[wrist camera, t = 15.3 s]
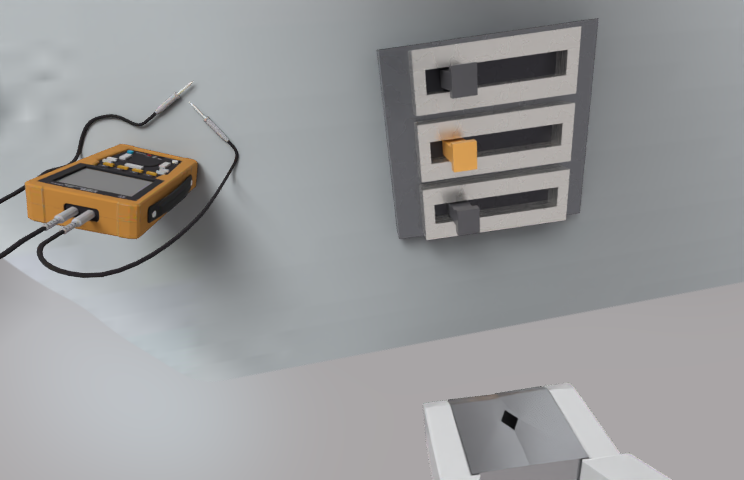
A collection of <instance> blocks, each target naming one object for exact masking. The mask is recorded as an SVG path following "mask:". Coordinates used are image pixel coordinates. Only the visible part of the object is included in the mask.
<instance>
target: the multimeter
mask: <svg viewBox="0 0 744 480" xmlns="http://www.w3.org/2000/svg"><path fill="white" fill-rule="evenodd" d="M192 82H193V81H192ZM192 82H190V83H189V84H187V85H186V86H185V87H184V88H183V89H182V90H180V91H179V92H178V93H177V92H174V94H173V95H172V96H171V97H169V98H168V99H167V100H166V101H165V102H164V103H162V104H161V105H160V106H159V107H158V108H157V109H156V110H155V112H154V113H153V114H152V115H151V116H150V117H149V118H148V119H146V120H145V121H144V122H142V123H139V124H138V123H134V122H132V121H130V120H128V119H126V118H124V117H121V116H118V115H113V114H109V115H102V116H98V117H95V118H93V119H91V120H90V121H89V122H88V123H87V124H86V125H85V127H84V129H83V131H82V134H81V137H80V141H79V145H78V150H77V153H76V156H75V158H74V159H73V160H72V161H71V162H70V163H68V164H67V165H64V166H61V167H56V168H52V169H49V170H46V171H44V172H43V173H41V174H40V175H39V176H37V177H36V178H34V179H31V180H29V181H27V182H25V185H24V186H22V187H21V188H19V189H18V190H16V191H14V192H13V193H11V194H9V195H7V196H5V197H3V198H2V199H0V204H1V203H3V202H4V201H6V200H8V199H10V198H12V197H13V196H15V195H17V194H19V193H20V192H22V191H23V190H26V199H27V211H28V218H30V219H32V220H34V221H37V222H42V223H46V224H44V225H42V226H41V228H39V229H37V230H36V231H34V232H32V233H30V234H29V235H27V236H25V237H23V238H22V239H20V240H19V241H17V242H16V243H15V244H13V245H12V246H10V247H9V248H8V249H6V250H5V251H3V252H2V253H0V259H1V258H3V257H5V256H6V255H8V254H9V253H11V252H12V251H13V250H15V249H16V248H17V247H19V246H20V245H22V244H23V243H24V242H26V241H28V240H29V239H31V238H33V237H34V236H36V235H38V234H39V233H41V232H43V231H47V230H48V229H50V228H52V227H53V226H55V225H60V226H65V227H63V228H61V229H60V231H59V232H58V233H56V234H54V235H53V236H51V237H50V238H48V239H46V240H45V241H43V242H42V243H40V244H39V246H38V248H37V256H38V258H39V260H40V261H41V263H42V264H43V265H44V266H46V267H47V268H49V269H50V270H52V271H55V272H57V273H60V274H64V275H68V276H74V277H82V278H90V277H104V276H108V275H112V274H116V273H120V272H123V271H125V270H128V269H130V268H132V267H135V266H137V265H139V264H141V263H143V262H145V261H146V260H148V259H150V258H152V257H154V256H155V255H157V254H158V253H160V252H161V251H163V250H164V249H166V248H167V247H168V246H170V245H171V244H172V243H174V242H175V241H176V240H177V239H179V238H180V237H181V236H182V235H183V234H184V233H186V232H187V231H188V230H189V229H190V228H191V227H192V226H193V225H194V224H195V223H196V222H197V221H198V220H199V219H200V218H201V217H202V216H203V214H204V213H205V212H206V211H207V209H208V208H209V207H210V205H211V204H212V202H213V201H214V199H215V198H216V196H217V195H218V193H219V192H220V190H221V188H222V187H223V185H224V183H225V182H226V180H227V178H228V177H229V175H230V173H231V171H232V170H233V168H234V166H235V164H236V162H237V159H238V152H237V149H236V148H235V146H234V145H233V144H232V143H231V142H230V141H229V139H228V138H227V136H226V135H225V134H224V133H223V132H222V131H221V130H220V129H219V128H218V127H217V126H216V125H215V124H214V123H213V122H212V121H211V120H210V119H209V117H207V118H206V117H205V116H204V115H203V114H202V113H201V112H200V111H199V110H198V109H197V108H196V107H195V106H194V105H193V104H192V103H190V102H189V103H190V104H191V106H192V107H193V108H194V109H195V110H196V111H197V112H198V113H199V114H200V115H201V116H202V117H203V118H204V119H205V120H204V122H206V123H207V124H208V125H209V126H210V127H211V128H212V129H213V130H214V131H215V132H216V133H217V134H218V135H219V136H220V137H221V138H222V139H223V140H224V141H226V142H228V144H229V145H230V146H231V147H232V148H233V149H234V151H235V155H236V156H235V160H234V163H233V165H232V166H231V168H230V170H229V172H228V173H227V175H226V177H225V178H224V180H223V182H222V183H221V185H220V186H219V188H218V190H217V191H216V193H215V194H214V196H213V197H212V198H211V200H210V201H209V203H208V204H207V205H206V207H205V208H204V209H203V210H202V212H201V213H200V214H199V215H198V216H197V217H196V218H195V219H194V220H193V221H192V222H191V223H190V224H189V225H188V226H187V227H186V228H184V229H183V230H182V231H181V232H180V233H179V234H177V235H176V236H175V237H174V238H172V239H171V240H170V241H168V242H167V243H166V244H164V245H163V246H161V247H160V248H158V249H157V250H155V251H154V252H152V253H151V254H149V255H147V256H145V257H143V258H141V259H139V260H138V261H136V262H133V263H131V264H128V265H126V266H123V267H121V268H118V269H114V270H110V271H106V272H102V273H79V272H72V271H68V270H64V269H60V268H58V267H56V266H53V265H52V264H50V263H49V262H47V261H46V259H45V258H44V257H43V248H44V246H45V245H46V244H48V243H49V242H51V241H52V240H54V239H56V238H57V237H59V236H60V235H62V234H66V233H67V232H69V231H70V230H72V229H73V228H76V229H82V230H87V231H92V232H98V233H103V234H108V235H113V236H119V237H122V238H128V239H137V238H139V237H140V236H142V235H143V234H144V233H145V232H146V231H147V230H148V229H149V228H150V227H152V226H153V225H154V224H155V223H156V222H157V221H158V220H159V219H161V218H162V217H163V216H164V215H165V214H166V213H167V212H169V211H170V210H171V209H172V208H173V207H175V206H176V205H177V204H178V203H179V202H180V201H181V200H183V199H184V198H185V197H186V195H187V194H188V193H189V192H190V191H191V190H192V189H193V188H195V187H196V178H197V165H198V163H197V161H195V160H193V159H189V158H182V157H178V156H173V155H169V154H164V153H160V152H155V151H151V150H146V149H142V148H137V147H134V146H130V145H125V144H119V145H117V146H115V147H112V148H109V149H107V150H104V151H102V152H99V153H96V154H94V155H91V156H89V157H86V158H84V159H81V160H78V161H77V159H78V157H79V155H80V152H81V147H82V143H83V139H84V135H85V133H86V130H87V129H88V127H89V126H90V124H91V123H92V122H94V121H95V120H98V119H101V118H106V117H115V118H119V119H122V120H124V121H126V122H128V123H130V124H132V125H135V126H142V125H144V124H146V123H147V122H149V121H150V120H151V119H152V118H153V117H154V116H156V115H157V114H159V113H161V112H162V111H163V110H165V109H166V108H167V107H168V106H169V105H170V104H172V103H173V102H174V101H175V100H176V99H178V98H180V96H179V95H180V94H181V93H182V92H183V91H184V90H185V89H187V88H188V87H189V86H190V85H191V84H192Z"/></svg>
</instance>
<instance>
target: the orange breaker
mask: <svg viewBox="0 0 744 480" xmlns="http://www.w3.org/2000/svg"><path fill="white" fill-rule="evenodd" d="M442 147H443V155H444V156H445V157H446V158H447V159H448V160H449V161H450V162H451V164H452V171H453V172H461V171H468V170H475V169H477V141H476V140H475V139H471V140H465V139H463V138H456V139H449V140H442Z"/></svg>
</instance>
